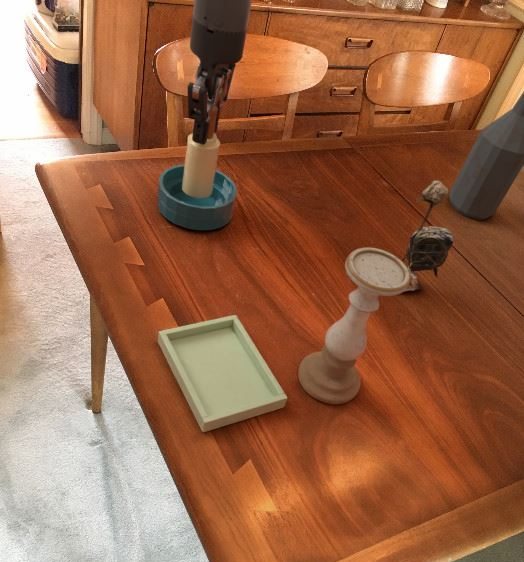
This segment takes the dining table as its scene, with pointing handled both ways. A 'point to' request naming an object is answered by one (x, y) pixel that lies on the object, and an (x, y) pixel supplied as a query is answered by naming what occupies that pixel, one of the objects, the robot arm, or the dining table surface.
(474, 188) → the bottle
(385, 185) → the dining table surface
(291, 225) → the dining table surface
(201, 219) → the bowl
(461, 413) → the dining table surface
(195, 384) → the tray
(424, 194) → the stone bird figurine
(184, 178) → the stoneware bottle
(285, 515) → the dining table surface
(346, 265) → the candle holder
